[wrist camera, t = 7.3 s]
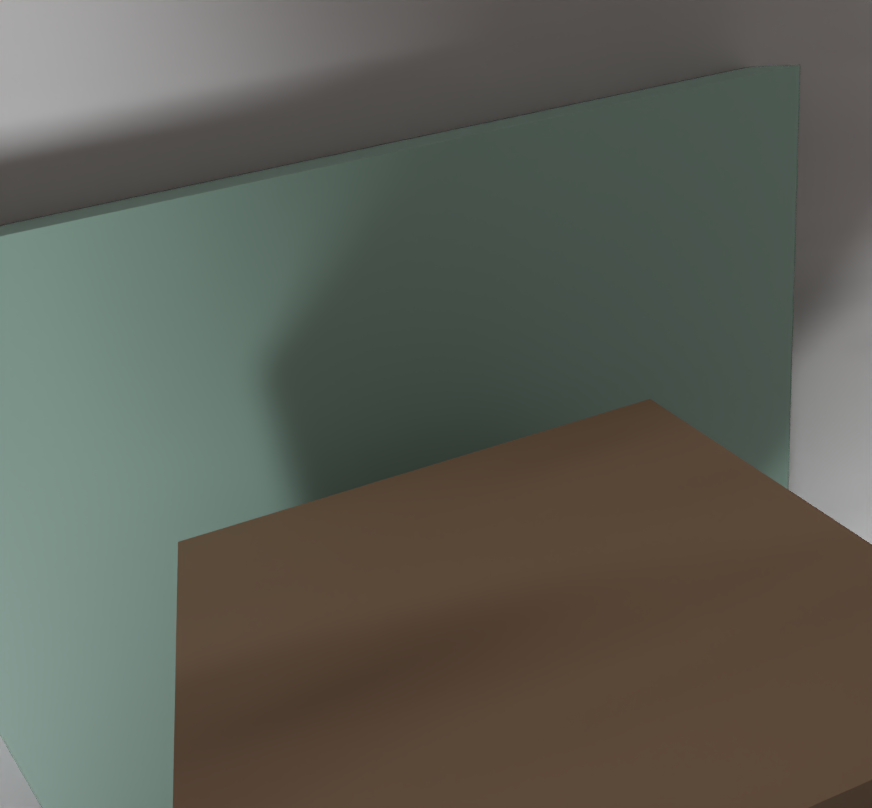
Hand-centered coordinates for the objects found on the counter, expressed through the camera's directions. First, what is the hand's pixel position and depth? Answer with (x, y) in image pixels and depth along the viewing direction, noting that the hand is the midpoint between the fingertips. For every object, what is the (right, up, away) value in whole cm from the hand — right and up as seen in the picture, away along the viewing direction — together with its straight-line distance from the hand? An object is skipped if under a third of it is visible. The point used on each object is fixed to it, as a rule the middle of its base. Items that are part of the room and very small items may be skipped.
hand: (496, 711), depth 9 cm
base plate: (-1, +1, +3) cm, 4 cm away
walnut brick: (0, 0, +1) cm, 1 cm away
